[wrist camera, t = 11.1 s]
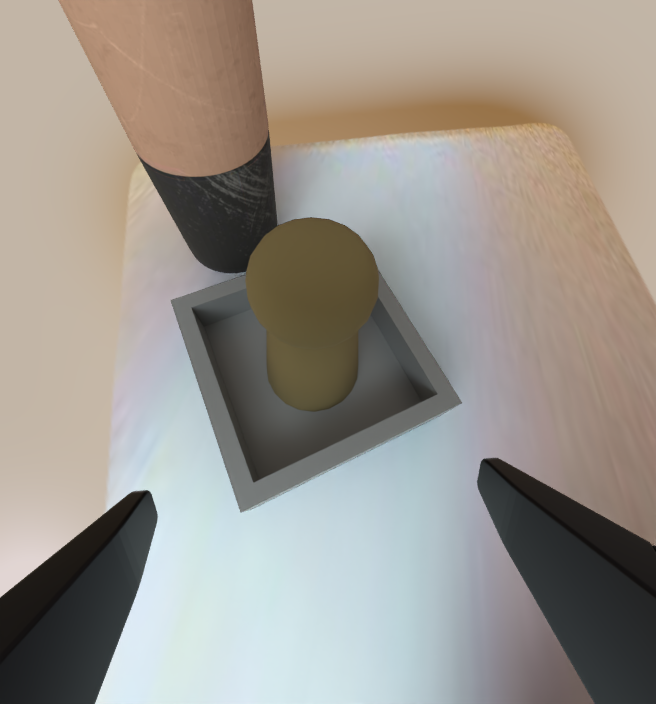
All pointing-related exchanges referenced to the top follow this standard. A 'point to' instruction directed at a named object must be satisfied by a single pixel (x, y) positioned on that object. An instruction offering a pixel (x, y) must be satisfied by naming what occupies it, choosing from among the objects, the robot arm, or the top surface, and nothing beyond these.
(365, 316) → the cork
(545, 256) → the top surface
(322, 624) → the top surface
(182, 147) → the travel mug
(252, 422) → the gray square tray
